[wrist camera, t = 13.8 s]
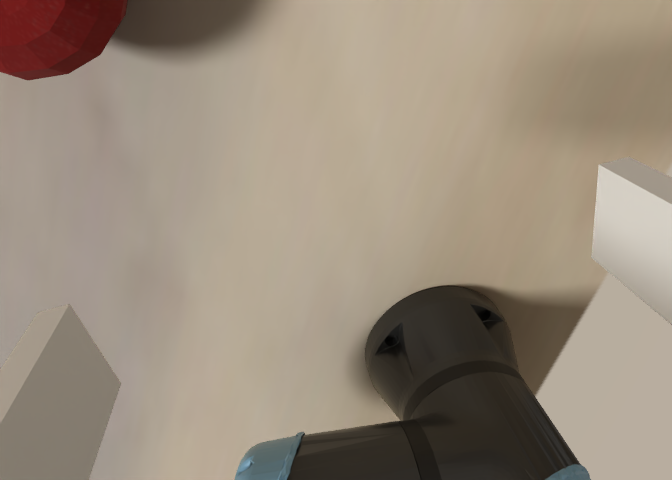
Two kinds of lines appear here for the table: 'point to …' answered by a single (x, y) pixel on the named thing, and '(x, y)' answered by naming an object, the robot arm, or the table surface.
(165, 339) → the table surface
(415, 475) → the robot arm
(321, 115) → the table surface
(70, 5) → the apple
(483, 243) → the table surface
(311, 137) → the table surface
